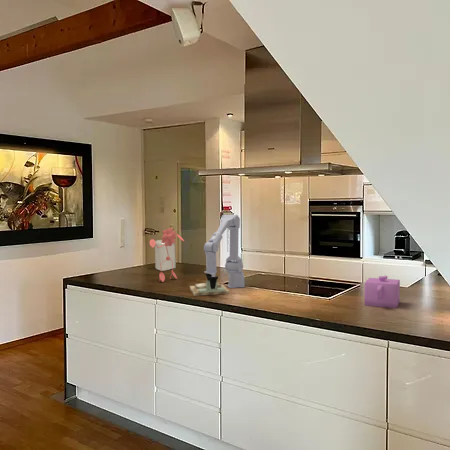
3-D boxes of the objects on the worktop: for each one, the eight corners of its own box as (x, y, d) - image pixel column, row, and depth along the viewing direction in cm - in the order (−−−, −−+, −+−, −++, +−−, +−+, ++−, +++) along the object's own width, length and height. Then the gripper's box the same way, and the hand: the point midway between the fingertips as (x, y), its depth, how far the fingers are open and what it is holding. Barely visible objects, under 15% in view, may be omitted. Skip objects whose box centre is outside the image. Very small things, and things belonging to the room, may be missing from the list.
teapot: (400, 299, 246) (401, 272, 245) (395, 310, 224) (395, 281, 222) (371, 296, 253) (371, 271, 251) (362, 307, 230) (362, 279, 229)
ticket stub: (222, 289, 269) (222, 278, 268) (224, 291, 264) (224, 280, 263) (198, 290, 266) (198, 280, 266) (199, 292, 261) (199, 281, 261)
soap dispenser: (163, 271, 342) (162, 241, 341) (148, 269, 350) (148, 240, 348) (176, 268, 355) (175, 239, 353) (162, 266, 363) (161, 238, 361)
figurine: (148, 283, 300) (146, 228, 297) (178, 277, 319) (177, 226, 316) (163, 286, 290) (161, 229, 287) (193, 279, 308) (192, 226, 305)
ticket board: (222, 286, 285) (222, 281, 285) (229, 293, 266) (229, 288, 266) (189, 288, 281) (189, 283, 281) (194, 295, 262) (194, 290, 262)
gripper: (202, 261, 269) (202, 285, 270) (206, 265, 255) (206, 290, 256) (214, 261, 270) (214, 284, 271) (219, 265, 256) (219, 289, 257)
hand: (211, 287), depth 264 cm, fingers open, 7 cm apart
